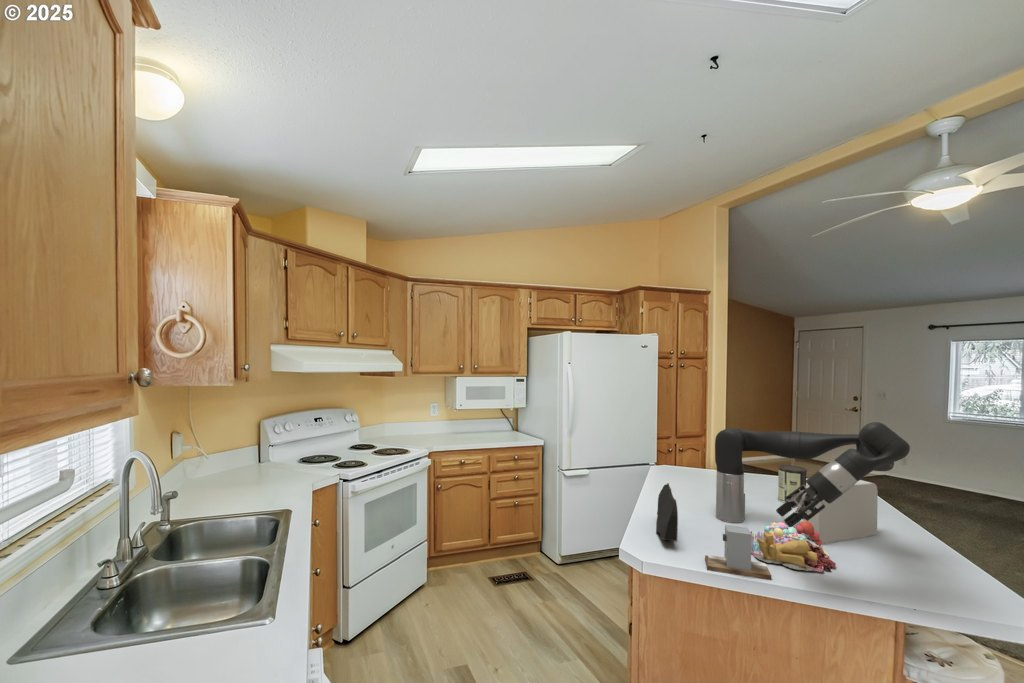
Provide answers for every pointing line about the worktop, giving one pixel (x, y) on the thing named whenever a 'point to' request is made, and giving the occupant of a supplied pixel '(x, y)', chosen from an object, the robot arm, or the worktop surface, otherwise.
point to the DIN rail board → (721, 566)
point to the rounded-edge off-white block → (848, 515)
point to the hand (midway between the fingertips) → (782, 518)
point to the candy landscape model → (791, 547)
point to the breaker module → (737, 547)
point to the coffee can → (790, 480)
